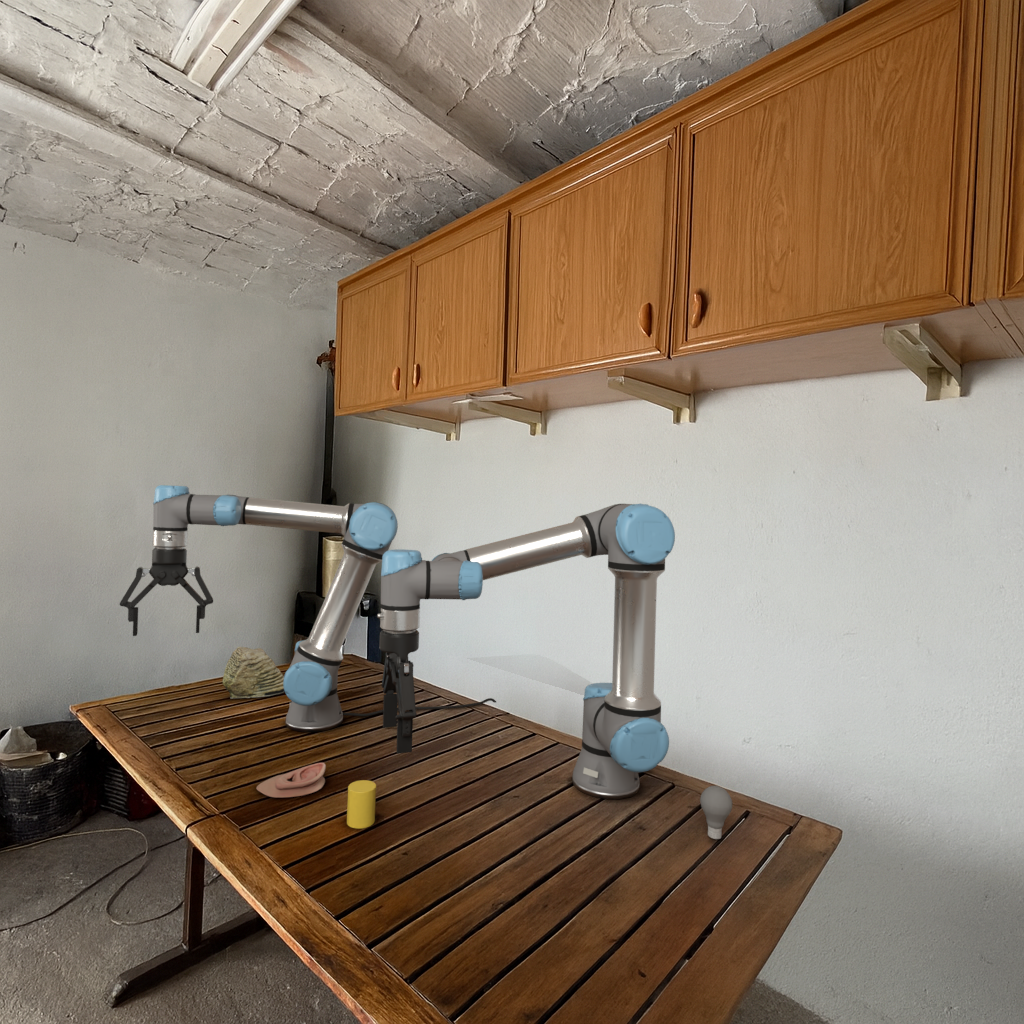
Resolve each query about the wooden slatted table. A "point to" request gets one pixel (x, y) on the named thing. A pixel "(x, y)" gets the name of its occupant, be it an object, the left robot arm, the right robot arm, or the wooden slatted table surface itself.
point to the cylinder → (361, 804)
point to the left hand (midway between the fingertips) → (166, 633)
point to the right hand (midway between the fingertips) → (396, 738)
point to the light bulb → (715, 809)
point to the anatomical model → (295, 782)
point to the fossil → (252, 674)
